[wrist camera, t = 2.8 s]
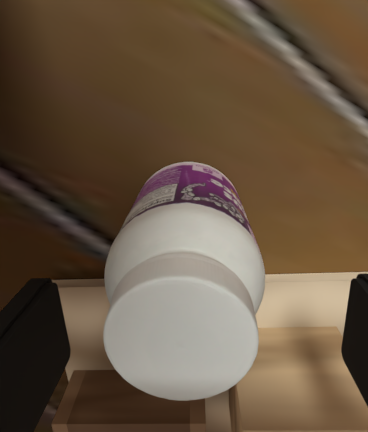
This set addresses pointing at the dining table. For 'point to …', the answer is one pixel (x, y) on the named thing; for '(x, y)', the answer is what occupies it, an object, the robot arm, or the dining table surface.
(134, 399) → the walnut ring block
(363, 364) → the robot arm
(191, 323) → the pill bottle
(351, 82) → the dining table surface
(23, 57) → the dining table surface
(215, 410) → the board
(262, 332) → the oak block
